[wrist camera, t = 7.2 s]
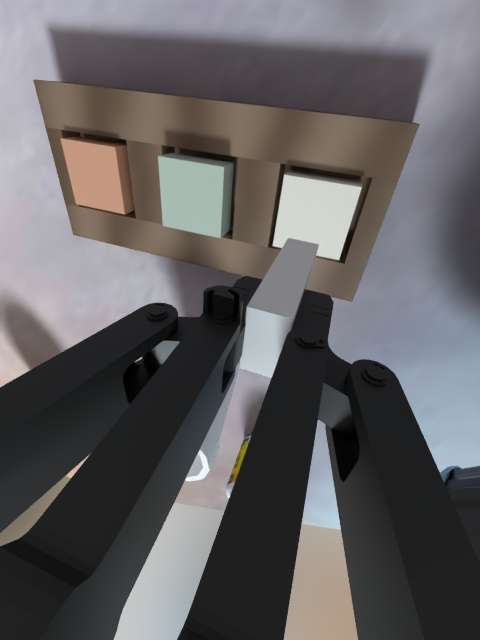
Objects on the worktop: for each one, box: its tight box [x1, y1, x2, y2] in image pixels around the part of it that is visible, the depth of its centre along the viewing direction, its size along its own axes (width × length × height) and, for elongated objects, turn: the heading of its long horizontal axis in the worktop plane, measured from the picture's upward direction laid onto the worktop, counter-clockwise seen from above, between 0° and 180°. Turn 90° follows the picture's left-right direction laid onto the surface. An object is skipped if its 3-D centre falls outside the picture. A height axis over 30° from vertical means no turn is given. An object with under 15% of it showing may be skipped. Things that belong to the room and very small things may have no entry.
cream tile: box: [273, 170, 362, 260], centre depth 21 cm, size 5×5×2 cm
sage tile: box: [158, 153, 234, 238], centre depth 23 cm, size 5×5×2 cm
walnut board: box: [34, 80, 419, 302], centre depth 24 cm, size 27×12×3 cm, turn 85°
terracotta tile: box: [60, 137, 135, 214], centre depth 25 cm, size 5×5×2 cm
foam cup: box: [185, 362, 239, 481], centre depth 32 cm, size 10×9×13 cm
